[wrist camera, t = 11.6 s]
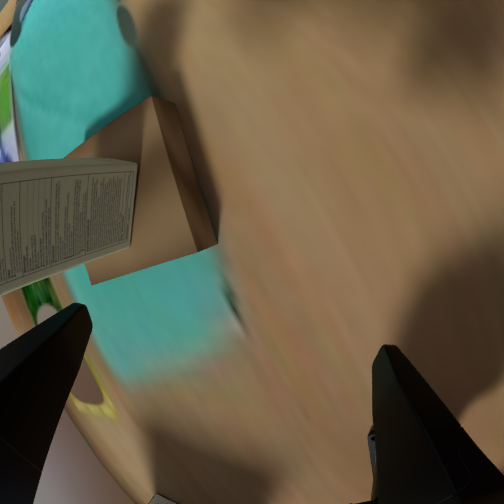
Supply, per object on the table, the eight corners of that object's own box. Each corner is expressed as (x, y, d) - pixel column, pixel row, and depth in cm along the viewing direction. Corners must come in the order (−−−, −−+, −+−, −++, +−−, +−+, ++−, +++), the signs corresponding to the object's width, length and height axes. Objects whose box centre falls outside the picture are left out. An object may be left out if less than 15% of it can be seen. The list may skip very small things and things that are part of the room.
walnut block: (221, 242, 23) (197, 252, 20) (118, 274, 27) (91, 285, 24) (178, 104, 22) (151, 95, 19) (87, 161, 26) (58, 162, 23)
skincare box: (99, 156, 21) (-52, 164, 10) (142, 162, 20) (-31, 170, 9) (92, 237, 23) (-46, 277, 12) (132, 252, 22) (-21, 307, 10)
